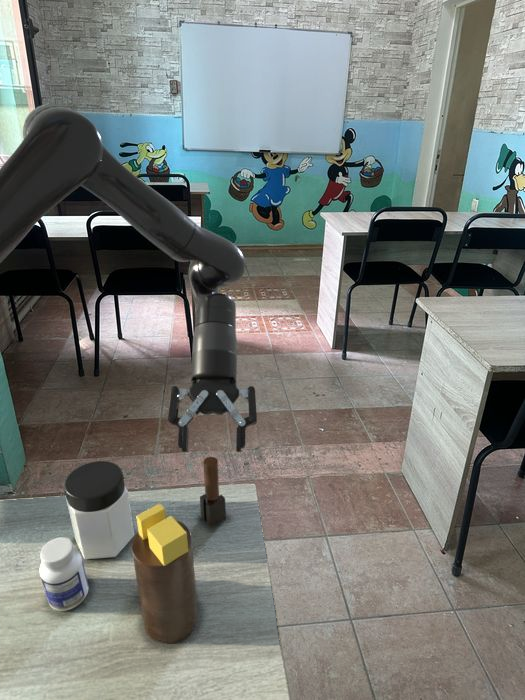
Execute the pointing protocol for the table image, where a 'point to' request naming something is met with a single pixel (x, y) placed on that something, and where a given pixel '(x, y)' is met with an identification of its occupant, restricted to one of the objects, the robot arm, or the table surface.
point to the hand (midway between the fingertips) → (211, 451)
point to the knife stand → (213, 510)
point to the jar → (99, 509)
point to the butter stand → (166, 591)
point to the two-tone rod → (211, 479)
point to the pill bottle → (63, 574)
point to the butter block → (167, 540)
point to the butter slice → (150, 519)
